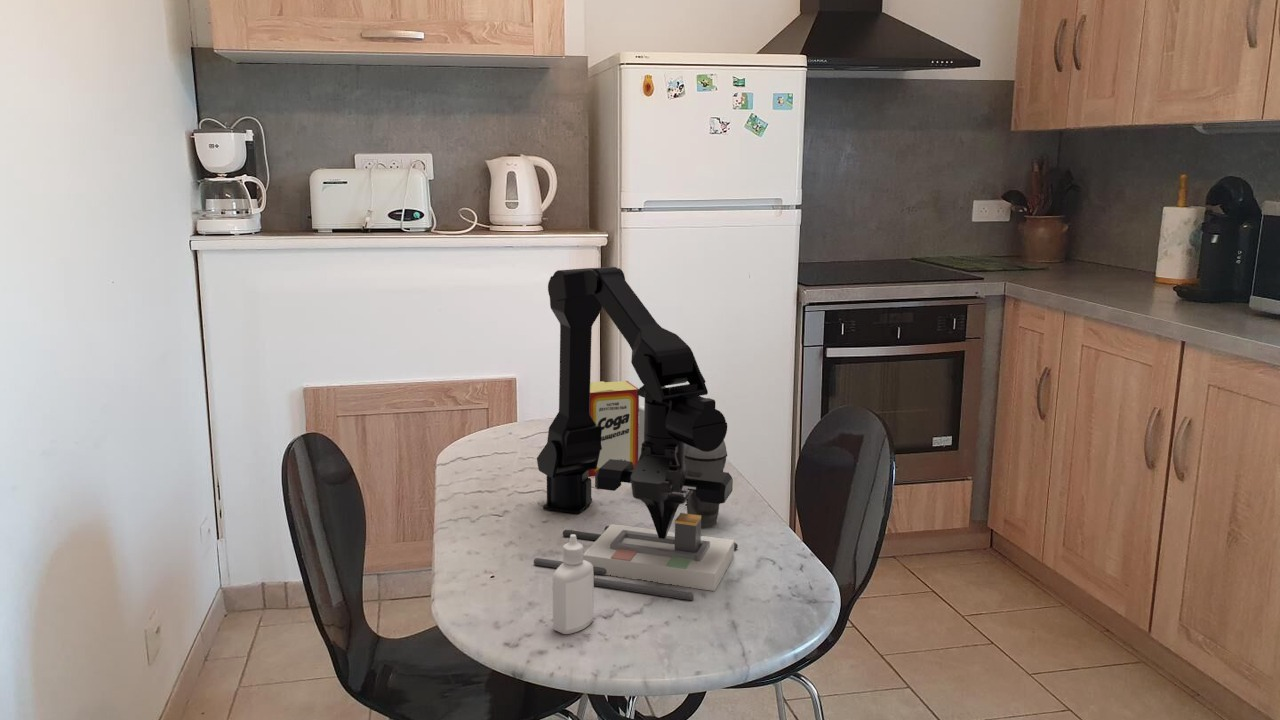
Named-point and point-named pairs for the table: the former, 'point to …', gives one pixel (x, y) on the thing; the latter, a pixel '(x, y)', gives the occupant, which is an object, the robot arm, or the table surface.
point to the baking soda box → (615, 420)
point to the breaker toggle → (688, 533)
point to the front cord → (622, 584)
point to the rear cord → (594, 535)
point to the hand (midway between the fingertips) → (662, 537)
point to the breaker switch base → (660, 557)
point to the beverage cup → (695, 468)
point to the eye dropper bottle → (573, 590)
